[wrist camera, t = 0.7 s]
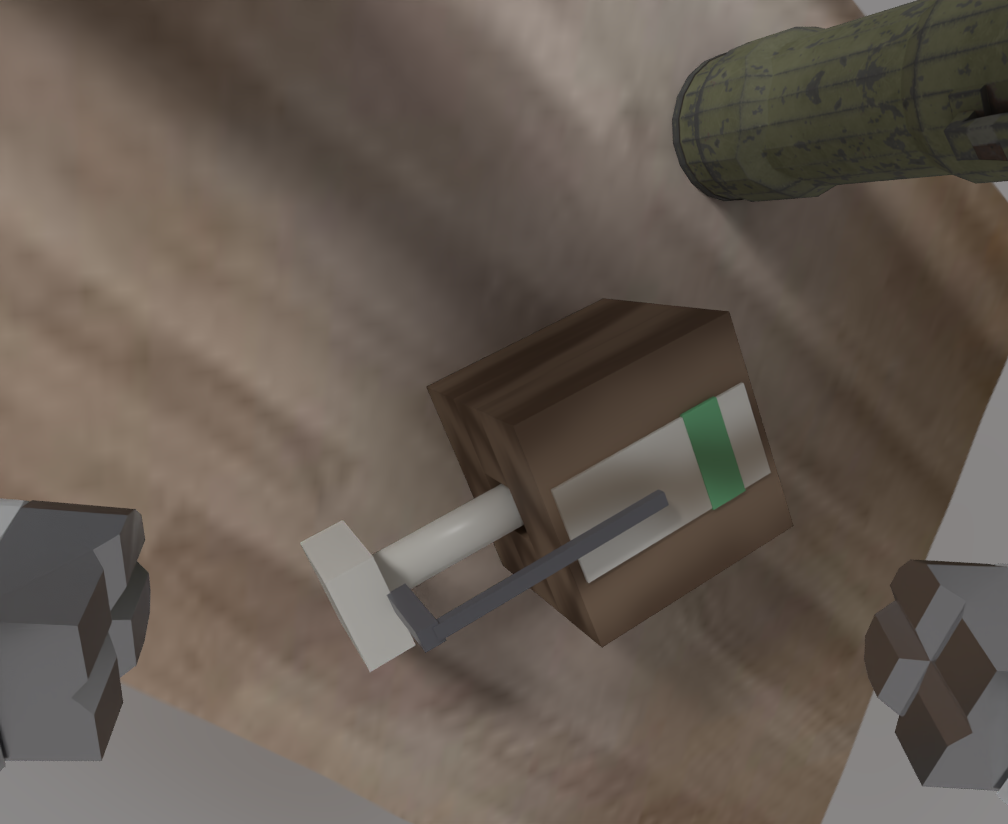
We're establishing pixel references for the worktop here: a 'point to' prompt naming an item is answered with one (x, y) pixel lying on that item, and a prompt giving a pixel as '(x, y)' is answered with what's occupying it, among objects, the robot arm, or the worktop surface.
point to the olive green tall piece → (851, 104)
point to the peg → (437, 571)
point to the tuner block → (620, 454)
